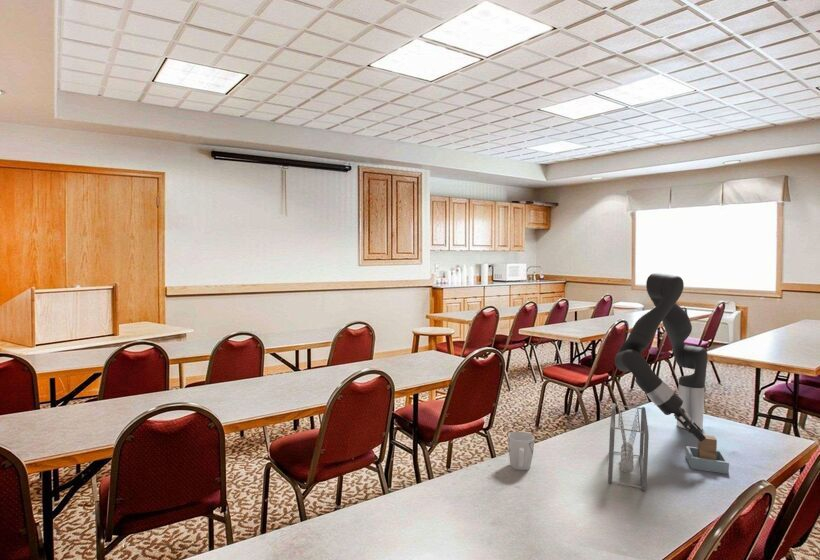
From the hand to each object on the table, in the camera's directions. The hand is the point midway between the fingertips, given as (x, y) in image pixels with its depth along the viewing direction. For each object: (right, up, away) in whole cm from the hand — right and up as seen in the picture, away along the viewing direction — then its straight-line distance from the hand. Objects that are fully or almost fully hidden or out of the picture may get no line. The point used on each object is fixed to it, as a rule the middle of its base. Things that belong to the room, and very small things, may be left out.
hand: (700, 435), depth 164 cm
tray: (+2, -10, 0) cm, 10 cm away
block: (+1, -9, 0) cm, 9 cm away
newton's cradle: (-27, -10, -5) cm, 29 cm away
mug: (-62, -9, -6) cm, 63 cm away
